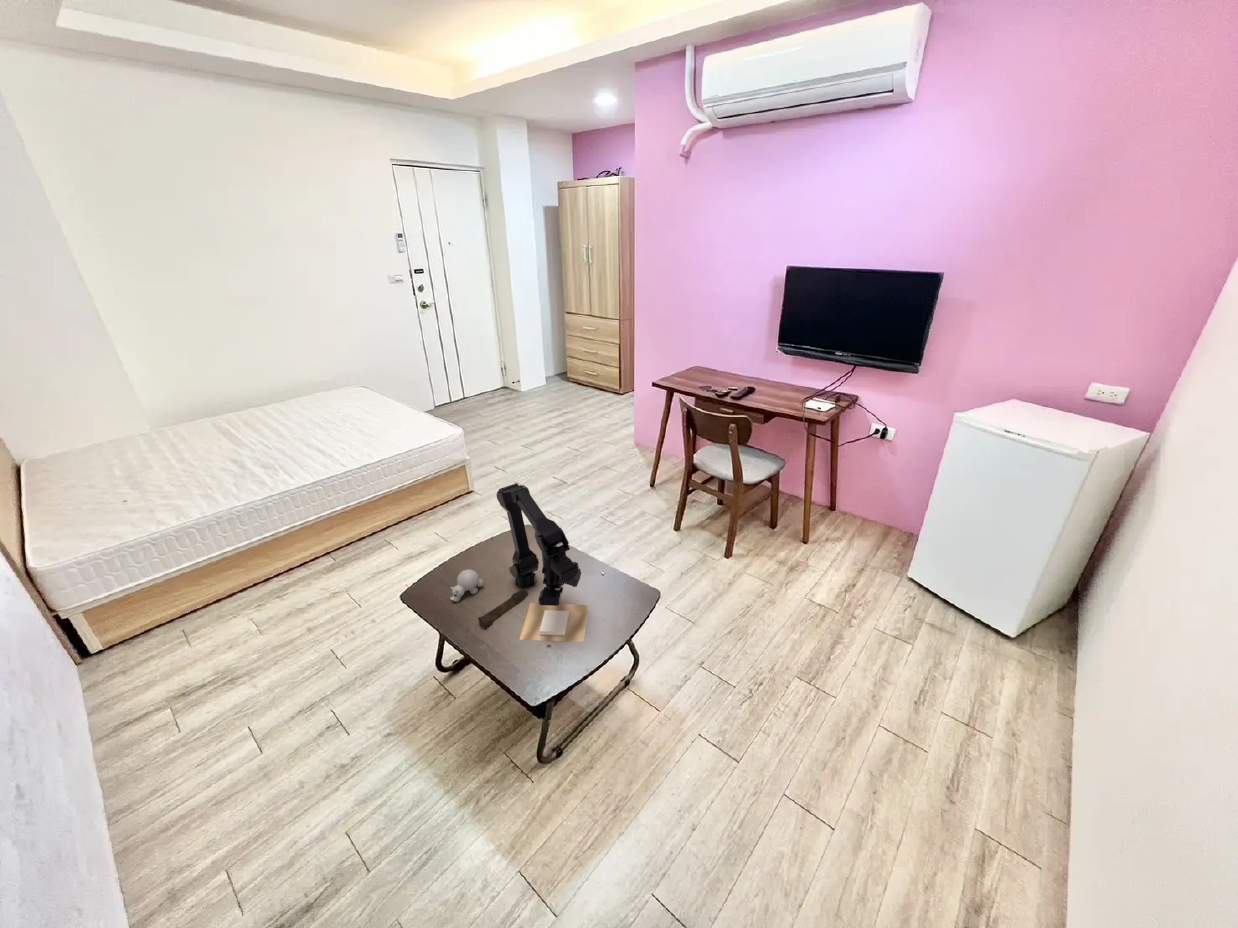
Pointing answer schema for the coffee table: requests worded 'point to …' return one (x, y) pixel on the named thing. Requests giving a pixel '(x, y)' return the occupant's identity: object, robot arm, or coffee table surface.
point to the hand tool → (502, 608)
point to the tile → (554, 623)
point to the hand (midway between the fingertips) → (555, 602)
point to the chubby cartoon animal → (466, 584)
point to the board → (574, 625)
